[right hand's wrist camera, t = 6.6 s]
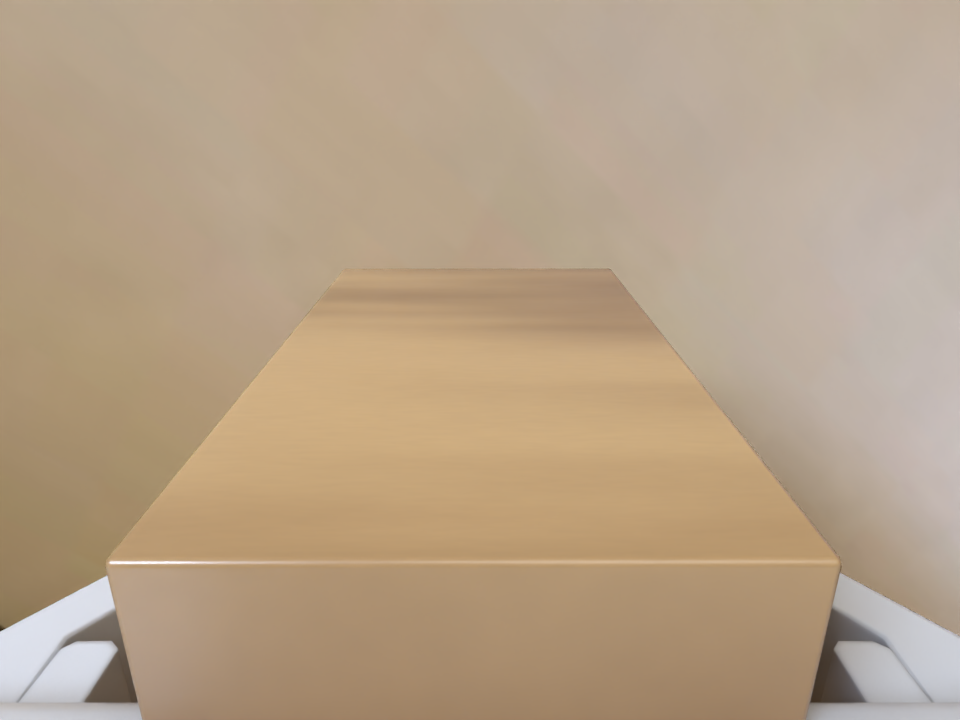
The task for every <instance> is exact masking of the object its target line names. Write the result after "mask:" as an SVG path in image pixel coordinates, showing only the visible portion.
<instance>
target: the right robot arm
mask: <svg viewBox="0 0 960 720" xmlns="http://www.w3.org/2000/svg"><path fill="white" fill-rule="evenodd" d="M0 720H142V717H141V713H140V709H139V705H138V700H137V696H136V692H135V688H134V684H133V680H132V676H131V672H130V667H129V663H128V659H127V655H126V651H125V647H124V643H123V638H122V634H121V630H120V626H119V622H118V618H117V614H116V609H115V605H114V601H113V597H112V593H111V589H110V585H109V581H108V576H105V577H103V578H101V579H99V580H97V581H95V582H94V583H92V584H90V585H88V586H86V587H84V588H82V589H80V590H78V591H76V592H74V593H73V594H71V595H69V596H67V597H65V598H63V599H61V600H59V601H57V602H55V603H54V604H52V605H50V606H48V607H46V608H44V609H42V610H40V611H38V612H36V613H35V614H33V615H31V616H29V617H27V618H25V619H23V620H21V621H19V622H17V623H16V624H14V625H12V626H10V627H8V628H6V629H4V630H2V631H0ZM806 720H960V636H958V635H956V634H954V633H952V632H951V631H949V630H947V629H945V628H943V627H941V626H939V625H937V624H936V623H934V622H932V621H930V620H928V619H926V618H924V617H922V616H921V615H919V614H917V613H915V612H913V611H911V610H909V609H907V608H906V607H904V606H902V605H900V604H898V603H896V602H894V601H892V600H891V599H889V598H887V597H885V596H883V595H881V594H879V593H877V592H876V591H874V590H872V589H870V588H868V587H866V586H864V585H862V584H861V583H859V582H857V581H855V580H853V579H851V578H849V577H847V576H846V575H844V574H842V573H840V575H839V579H838V584H837V588H836V592H835V596H834V601H833V605H832V609H831V614H830V618H829V622H828V627H827V631H826V635H825V640H824V644H823V648H822V653H821V657H820V661H819V666H818V670H817V674H816V679H815V683H814V687H813V691H812V696H811V700H810V704H809V709H808V713H807V717H806Z"/></svg>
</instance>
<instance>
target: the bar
mask: <svg viewBox="0 0 960 720" xmlns="http://www.w3.org/2000/svg"><path fill="white" fill-rule="evenodd" d="M105 568H106V572H107V576H108V581H109V585H110V589H111V593H112V597H113V601H114V605H115V609H116V614H117V618H118V622H119V626H120V630H121V634H122V638H123V643H124V647H125V651H126V655H127V659H128V663H129V667H130V672H131V676H132V680H133V684H134V688H135V692H136V696H137V700H138V705H139V709H140V713H141V717H142V720H806V717H807V713H808V709H809V704H810V700H811V696H812V691H813V687H814V683H815V679H816V674H817V670H818V666H819V661H820V657H821V653H822V648H823V644H824V640H825V635H826V631H827V627H828V622H829V618H830V614H831V609H832V605H833V601H834V596H835V592H836V588H837V584H838V579H839V575H840V571H841V561H840V558H839V556H838V555H837V554H836V552H835V551H834V550H833V549H832V547H831V546H830V545H829V544H828V542H827V541H826V540H825V538H824V537H823V536H822V535H821V533H820V532H819V531H818V530H817V528H816V527H815V526H814V525H813V523H812V522H811V521H810V520H809V518H808V517H807V516H806V515H805V513H804V512H803V511H802V510H801V508H800V507H799V506H798V505H797V503H796V502H795V501H794V499H793V498H792V497H791V496H790V494H789V493H788V492H787V491H786V489H785V488H784V487H783V486H782V484H781V483H780V482H779V481H778V479H777V478H776V477H775V476H774V474H773V473H772V472H771V471H770V469H769V468H768V467H767V466H766V464H765V463H764V462H763V460H762V459H761V458H760V457H759V455H758V454H757V453H756V452H755V450H754V449H753V448H752V447H751V445H750V444H749V443H748V442H747V440H746V439H745V438H744V437H743V435H742V434H741V433H740V432H739V430H738V429H737V428H736V427H735V425H734V424H733V423H732V421H731V420H730V419H729V418H728V416H727V415H726V414H725V413H724V411H723V410H722V409H721V408H720V406H719V405H718V404H717V403H716V401H715V400H714V399H713V398H712V396H711V395H710V394H709V393H708V391H707V390H706V389H705V388H704V386H703V385H702V384H701V383H700V381H699V380H698V379H697V377H696V376H695V375H694V374H693V372H692V371H691V370H690V369H689V367H688V366H687V365H686V364H685V362H684V361H683V360H682V359H681V357H680V356H679V355H678V354H677V352H676V351H675V350H674V349H673V347H672V346H671V345H670V344H669V342H668V341H667V340H666V338H665V337H664V336H663V335H662V333H661V332H660V331H659V330H658V328H657V327H656V326H655V325H654V323H653V322H652V321H651V320H650V318H649V317H648V316H647V315H646V313H645V312H644V311H643V310H642V308H641V307H640V306H639V305H638V303H637V302H636V301H635V299H634V298H633V297H632V296H631V294H630V293H629V292H628V291H627V289H626V288H625V287H624V286H623V284H622V283H621V282H620V281H619V279H618V278H617V277H616V276H615V274H614V273H613V272H612V271H611V270H610V269H345V270H343V271H342V272H341V273H340V275H339V276H338V277H337V278H336V280H335V281H334V282H333V283H332V284H331V286H330V287H329V288H328V289H327V291H326V292H325V293H324V294H323V295H322V297H321V298H320V299H319V300H318V302H317V303H316V304H315V305H314V306H313V308H312V309H311V310H310V311H309V313H308V314H307V315H306V316H305V317H304V319H303V320H302V321H301V322H300V324H299V325H298V326H297V327H296V328H295V330H294V331H293V332H292V333H291V335H290V336H289V337H288V338H287V339H286V341H285V342H284V343H283V344H282V346H281V347H280V348H279V349H278V350H277V352H276V353H275V354H274V355H273V357H272V358H271V359H270V360H269V361H268V363H267V364H266V365H265V366H264V367H263V369H262V370H261V371H260V372H259V374H258V375H257V376H256V377H255V378H254V380H253V381H252V382H251V383H250V385H249V386H248V387H247V388H246V389H245V391H244V392H243V393H242V394H241V396H240V397H239V398H238V399H237V400H236V402H235V403H234V404H233V405H232V407H231V408H230V409H229V410H228V411H227V413H226V414H225V415H224V416H223V418H222V419H221V420H220V421H219V422H218V424H217V425H216V426H215V427H214V429H213V430H212V431H211V432H210V433H209V435H208V436H207V437H206V438H205V440H204V441H203V442H202V443H201V444H200V446H199V447H198V448H197V449H196V451H195V452H194V453H193V454H192V455H191V457H190V458H189V459H188V460H187V462H186V463H185V464H184V465H183V466H182V468H181V469H180V470H179V471H178V473H177V474H176V475H175V476H174V477H173V479H172V480H171V481H170V482H169V484H168V485H167V486H166V487H165V488H164V490H163V491H162V492H161V493H160V495H159V496H158V497H157V498H156V499H155V501H154V502H153V503H152V504H151V506H150V507H149V508H148V509H147V510H146V512H145V513H144V514H143V515H142V517H141V518H140V519H139V520H138V521H137V523H136V524H135V525H134V526H133V528H132V529H131V530H130V531H129V532H128V534H127V535H126V536H125V537H124V539H123V540H122V541H121V542H120V543H119V545H118V546H117V547H116V548H115V550H114V551H113V552H112V553H111V554H110V556H109V557H108V558H107V561H106V567H105Z"/></svg>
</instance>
